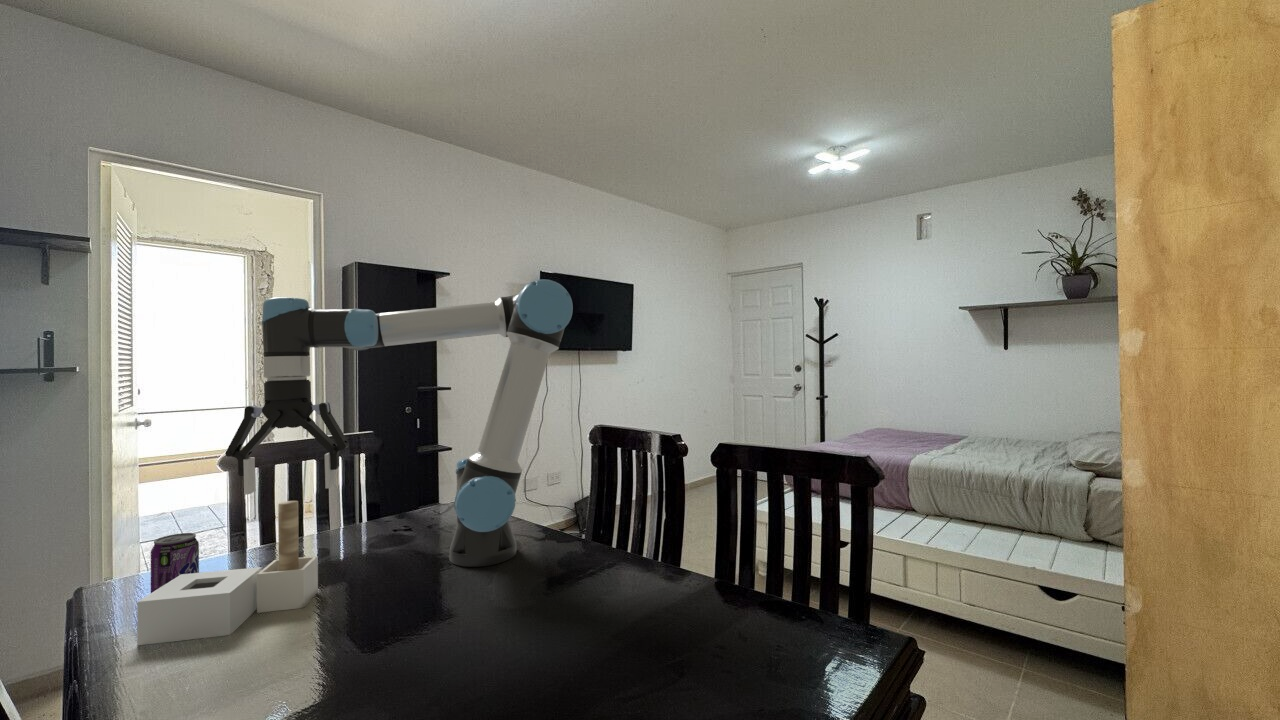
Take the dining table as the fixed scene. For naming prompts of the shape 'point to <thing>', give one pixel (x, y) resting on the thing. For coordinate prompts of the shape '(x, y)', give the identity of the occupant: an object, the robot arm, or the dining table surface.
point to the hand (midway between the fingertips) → (290, 490)
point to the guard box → (197, 606)
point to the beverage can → (173, 558)
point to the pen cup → (287, 585)
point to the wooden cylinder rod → (288, 535)
